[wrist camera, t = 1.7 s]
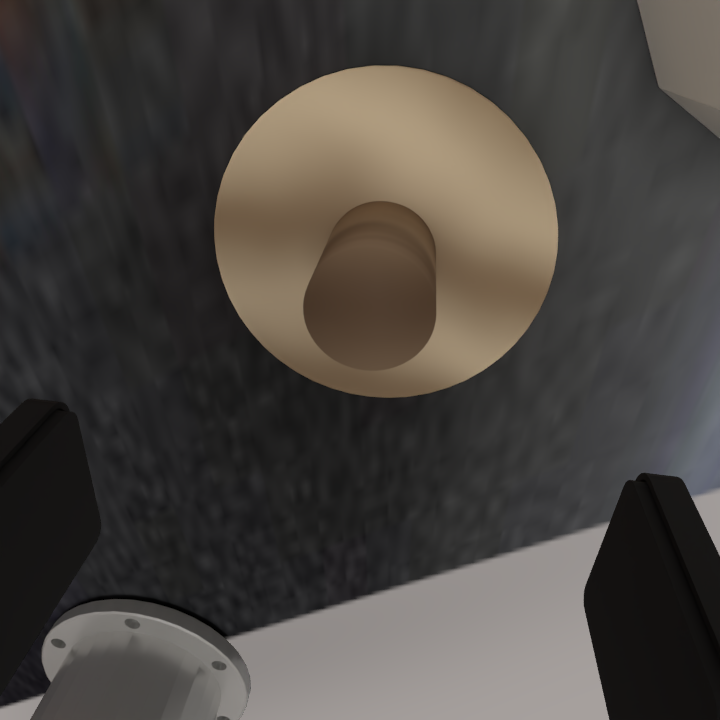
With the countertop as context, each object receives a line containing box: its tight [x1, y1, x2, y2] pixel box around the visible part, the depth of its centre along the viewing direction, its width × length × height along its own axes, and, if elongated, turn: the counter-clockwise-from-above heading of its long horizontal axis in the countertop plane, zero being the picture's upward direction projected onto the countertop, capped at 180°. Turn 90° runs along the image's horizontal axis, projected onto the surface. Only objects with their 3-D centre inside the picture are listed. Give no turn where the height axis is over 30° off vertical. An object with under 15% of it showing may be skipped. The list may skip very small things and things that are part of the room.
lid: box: [214, 65, 558, 398], centre depth 21 cm, size 13×13×6 cm
